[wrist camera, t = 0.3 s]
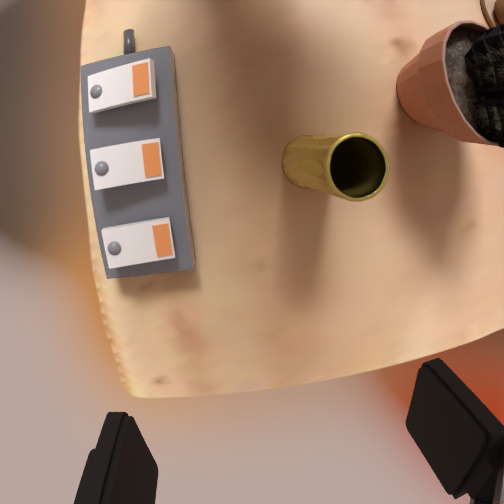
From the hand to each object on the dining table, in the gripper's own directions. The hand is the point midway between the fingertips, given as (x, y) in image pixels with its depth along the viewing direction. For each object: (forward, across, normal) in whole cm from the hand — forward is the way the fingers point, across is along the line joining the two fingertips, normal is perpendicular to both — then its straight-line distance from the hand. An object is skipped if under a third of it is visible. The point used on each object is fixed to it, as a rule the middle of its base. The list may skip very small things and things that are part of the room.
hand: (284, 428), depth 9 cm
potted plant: (+30, -26, -15) cm, 43 cm away
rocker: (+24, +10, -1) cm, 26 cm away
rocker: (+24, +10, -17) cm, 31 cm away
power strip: (+30, +10, -11) cm, 33 cm away
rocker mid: (+24, +10, -9) cm, 28 cm away
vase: (+30, -9, -6) cm, 32 cm away
